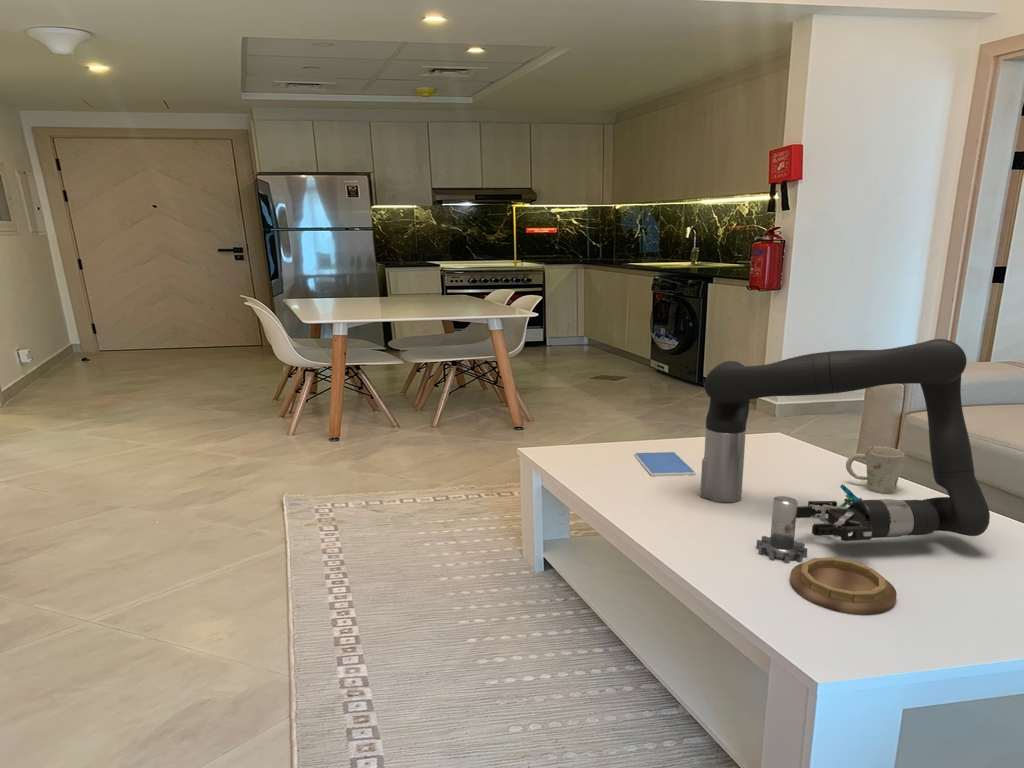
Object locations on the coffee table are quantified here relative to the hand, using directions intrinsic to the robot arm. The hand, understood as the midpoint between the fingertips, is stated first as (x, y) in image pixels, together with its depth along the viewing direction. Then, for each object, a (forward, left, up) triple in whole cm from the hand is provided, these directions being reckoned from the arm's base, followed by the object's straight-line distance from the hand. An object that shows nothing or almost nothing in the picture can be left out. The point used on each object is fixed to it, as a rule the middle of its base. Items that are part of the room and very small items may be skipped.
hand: (802, 520), depth 132 cm
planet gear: (-3, -2, -7) cm, 8 cm away
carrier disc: (+8, -13, -7) cm, 16 cm away
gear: (+10, +24, -7) cm, 27 cm away
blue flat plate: (-38, +42, -7) cm, 57 cm away
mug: (+14, +46, -7) cm, 49 cm away
